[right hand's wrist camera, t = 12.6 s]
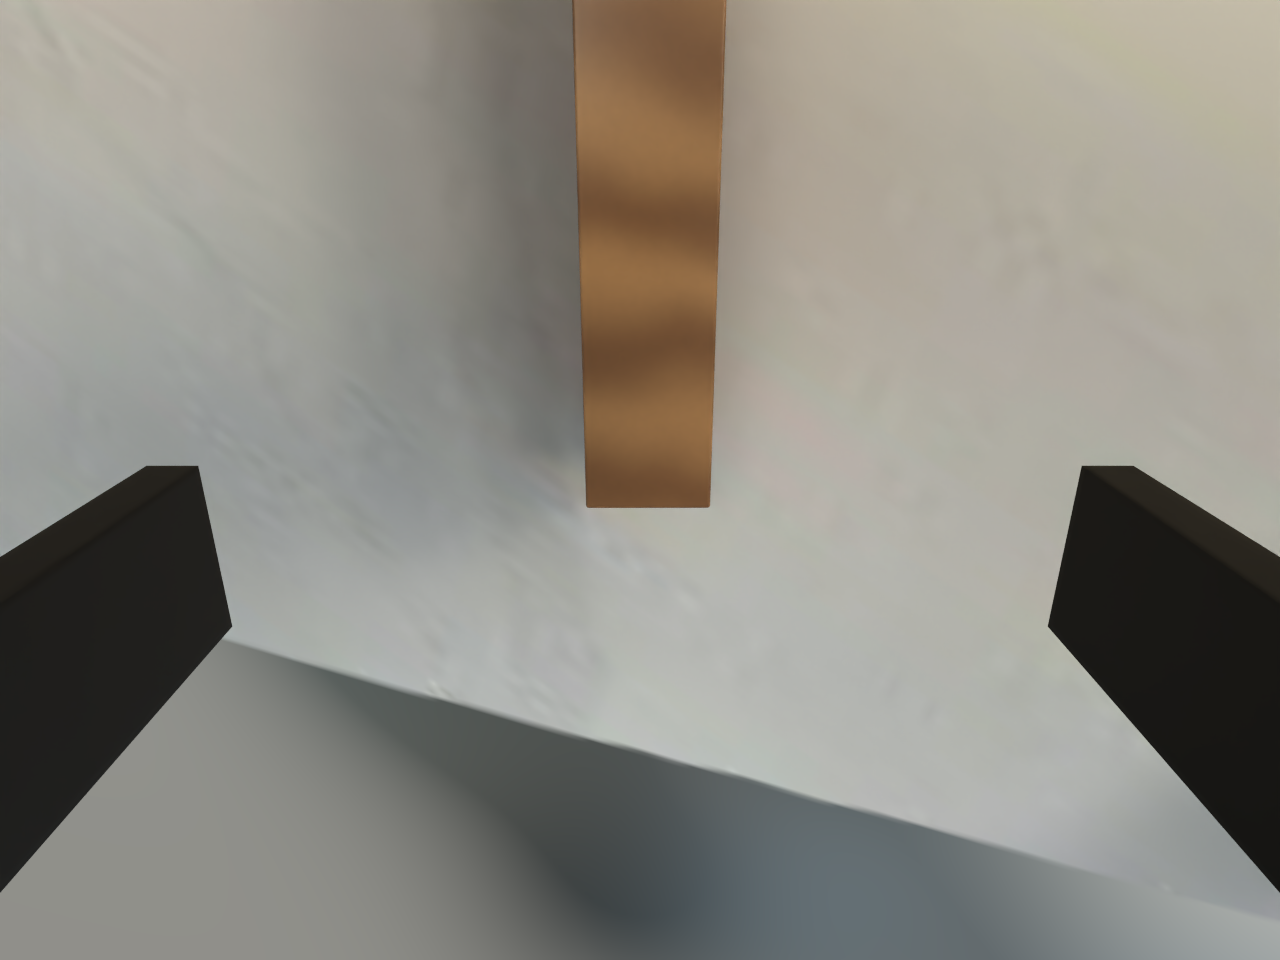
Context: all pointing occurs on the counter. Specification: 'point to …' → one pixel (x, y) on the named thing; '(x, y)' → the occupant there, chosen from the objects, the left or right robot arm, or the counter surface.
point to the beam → (648, 244)
